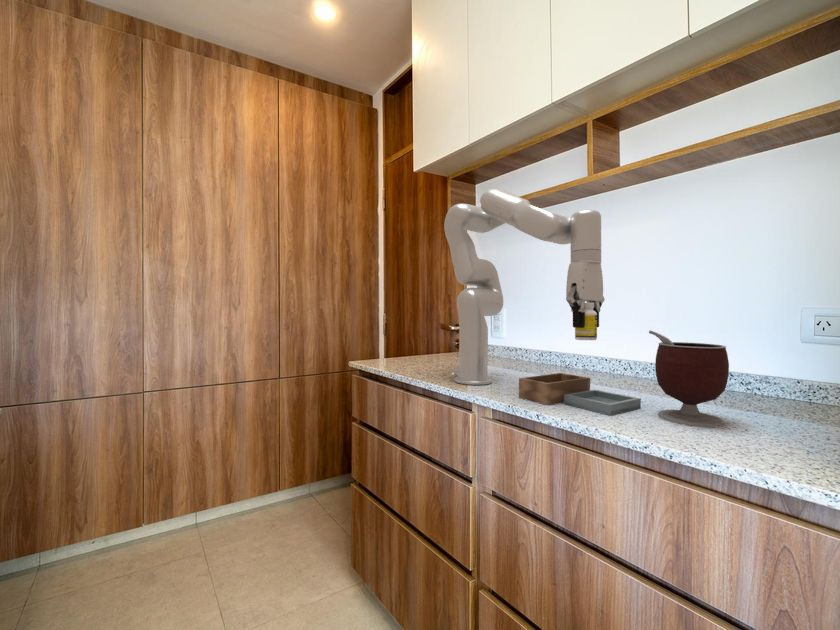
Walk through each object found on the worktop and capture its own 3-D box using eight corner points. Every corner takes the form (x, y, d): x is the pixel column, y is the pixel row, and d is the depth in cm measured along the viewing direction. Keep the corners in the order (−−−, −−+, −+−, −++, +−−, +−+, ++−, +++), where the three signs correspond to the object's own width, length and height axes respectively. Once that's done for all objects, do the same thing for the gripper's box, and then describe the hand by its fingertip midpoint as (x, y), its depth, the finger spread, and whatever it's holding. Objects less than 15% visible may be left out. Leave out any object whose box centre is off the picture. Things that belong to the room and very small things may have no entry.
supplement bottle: (599, 340, 104) (599, 302, 104) (576, 340, 105) (576, 302, 105) (594, 339, 109) (594, 302, 109) (573, 339, 110) (573, 303, 110)
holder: (518, 397, 113) (519, 378, 113) (560, 390, 123) (560, 372, 123) (547, 405, 105) (548, 384, 105) (589, 397, 115) (590, 377, 115)
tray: (563, 404, 106) (564, 394, 106) (593, 398, 113) (593, 389, 113) (610, 415, 95) (611, 404, 95) (640, 408, 102) (640, 398, 102)
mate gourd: (729, 418, 94) (731, 332, 93) (725, 432, 83) (727, 334, 83) (653, 407, 104) (654, 329, 103) (640, 418, 93) (642, 331, 93)
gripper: (592, 262, 115) (592, 326, 115) (552, 258, 106) (553, 327, 106) (617, 259, 109) (617, 327, 109) (578, 254, 99) (578, 328, 99)
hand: (585, 326), depth 107 cm, fingers closed on supplement bottle, 5 cm apart
